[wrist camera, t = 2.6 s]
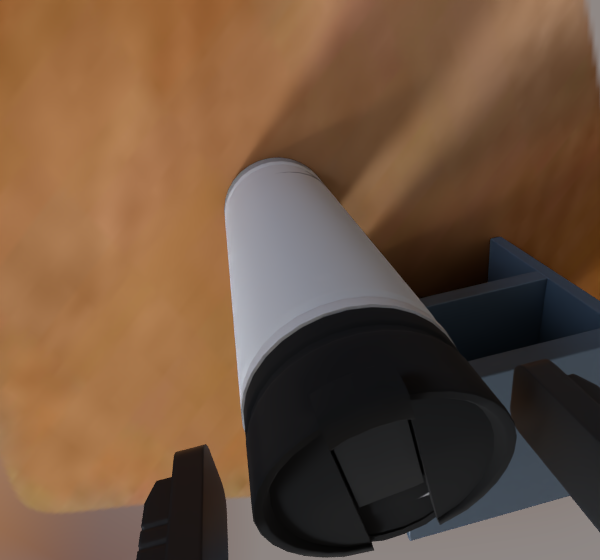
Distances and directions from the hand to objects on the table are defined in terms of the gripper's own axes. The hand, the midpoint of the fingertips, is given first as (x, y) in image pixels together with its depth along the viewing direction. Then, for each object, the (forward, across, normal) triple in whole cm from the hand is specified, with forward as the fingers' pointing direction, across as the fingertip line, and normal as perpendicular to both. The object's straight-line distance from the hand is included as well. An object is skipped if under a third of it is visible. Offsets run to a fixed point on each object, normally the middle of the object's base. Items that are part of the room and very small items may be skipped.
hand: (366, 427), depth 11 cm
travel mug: (+18, 0, 0) cm, 18 cm away
